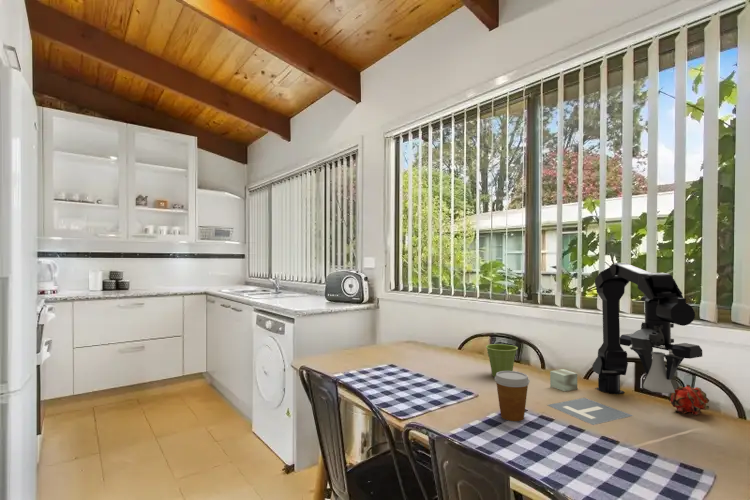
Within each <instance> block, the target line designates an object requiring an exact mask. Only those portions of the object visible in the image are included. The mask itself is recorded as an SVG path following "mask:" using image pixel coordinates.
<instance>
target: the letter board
mask: <svg viewBox="0 0 750 500" xmlns="http://www.w3.org/2000/svg"><path fill="white" fill-rule="evenodd" d="M547 406H548V407H550V408H553V409H554V410H556V411H559V412H562V413H564V414H566V415H569V416H571V417H574V418H576V419H578V420H581V421H583V422H585V423H587V424H590V425H593V426H594V425H598V424H603V423H607V422H611V421H617V420H620V419H625V418H630V417H634V415H633V414H630V413H627V412H625V411H622V410H619V409H617V408H613V407H610V406H608V405H606V404H603V403H600V402H598V401H595V400H592V399H591V398H590V399H589V398H587V397H581V398H575V399H571V400H565V401H561V402H556V403H550V404H547Z"/></svg>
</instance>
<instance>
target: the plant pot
mask: <svg viewBox="0 0 750 500" xmlns="http://www.w3.org/2000/svg"><path fill="white" fill-rule="evenodd" d="M485 348H486V351H487V354H488V358H489V359H488V360H489V363H490V370H491V375H492V377H494V378H495V377H496V373H497V372H500V371H514V364H515V357H516V353H517V350H518V349H519V347H518V346H516V345H510V344H505V343H504V344H500V343H493V344H492V343H491V344H487V345H485Z"/></svg>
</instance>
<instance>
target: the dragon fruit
mask: <svg viewBox="0 0 750 500" xmlns="http://www.w3.org/2000/svg"><path fill="white" fill-rule="evenodd" d="M674 391H675V393H670V396H669V400H668V401H669V402H670V404H671V405H672V407H673V408H676V410H675V413H680V414H686V413H692V414H693V416H697V415H700V414H701V410H703V411H707V410H709V409H710V405H707V404H708V403H710V399H709V398H708V397H707V393H706V392H704V391H703V390H702V388H701V387H698V386H696V387H694V388H693V387H692V386H691V385H690V384H688V383H687V384H686V386H682V385H679V386H677V387H676V389H675V388H674Z"/></svg>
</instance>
